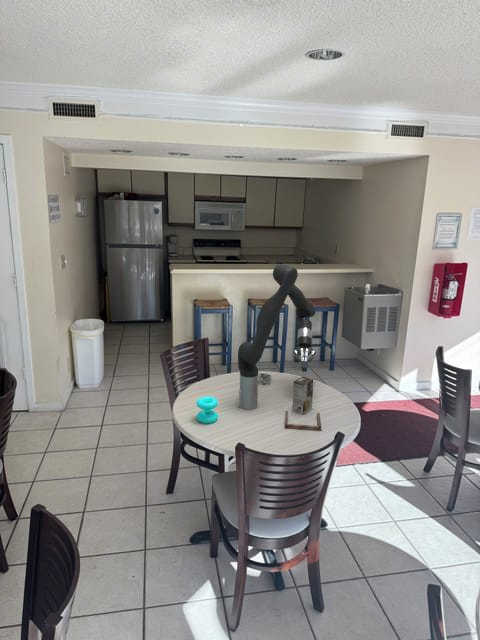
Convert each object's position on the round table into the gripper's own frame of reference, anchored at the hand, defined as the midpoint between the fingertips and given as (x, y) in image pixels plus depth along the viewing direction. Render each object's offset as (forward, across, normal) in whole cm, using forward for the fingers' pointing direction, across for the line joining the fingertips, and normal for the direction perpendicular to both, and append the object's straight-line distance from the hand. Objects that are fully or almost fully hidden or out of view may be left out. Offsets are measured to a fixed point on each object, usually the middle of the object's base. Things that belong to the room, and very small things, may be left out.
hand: (303, 369), depth 221 cm
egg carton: (-4, -22, +31) cm, 38 cm away
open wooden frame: (+28, 0, -2) cm, 28 cm away
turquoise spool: (+31, -45, -6) cm, 55 cm away
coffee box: (+20, 0, +7) cm, 21 cm away
